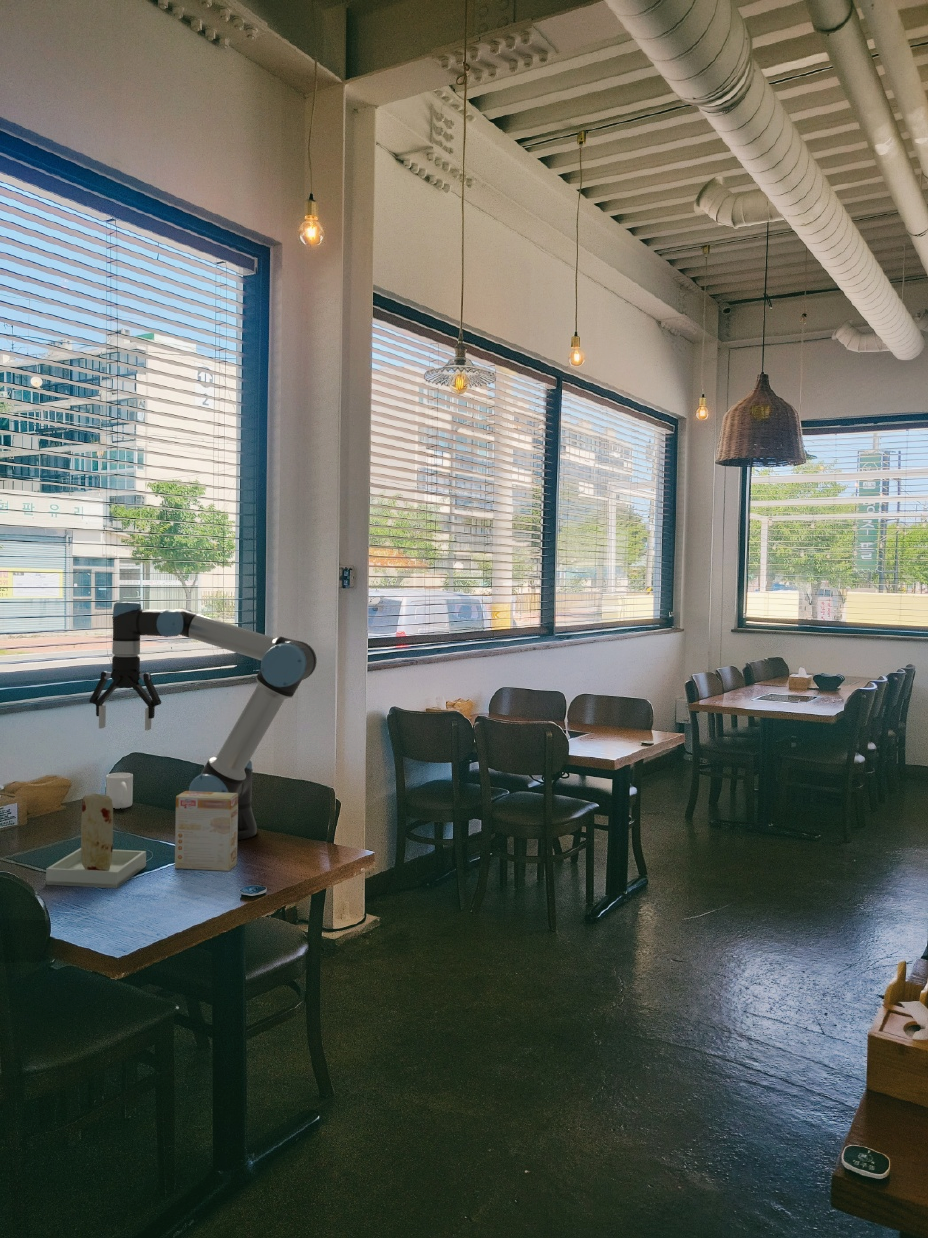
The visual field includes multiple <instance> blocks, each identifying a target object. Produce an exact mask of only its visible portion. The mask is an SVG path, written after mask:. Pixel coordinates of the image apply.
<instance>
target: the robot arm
mask: <svg viewBox="0 0 928 1238" xmlns="http://www.w3.org/2000/svg"><path fill="white" fill-rule="evenodd" d="M141 605H142V604H141V603H140V602H136V601H116V602H115V603H114V604H113V609H112V644H111V645H112V650H111V652H112V654H113V655H114V656H112V658H111V668H112V670H111V672H110V671H108V670H104V671H102V672H101V673H100V678H99V681H98V683H97V684H96V686H95V688H94V691H93V692H92V694H91V695H90V696H91V697H90V698H89V701H88V702H89V703H91V704H93V705H94V706H95V715H96V717H98V729H99V730H100V729H104V728H106V721H107V720H106V714H107V713H106V710H107V707H106V705H107V704H104V703H105V702H106V701H107V700H108V698H109V697H110V696H111V695H112V694H113V693H114V691H116V689H117V688H120V689H123V688H125V689H132V690H134V691H135V692H136V693H137V694H138V696H139V697H140V698H141V699H142V701H143V702H144V703H145V704H146V707H145V708H144V709H145V710H144V731H149V730H152V719H154V718H155V715H156V714H155V709H156V707H157V706H160V705H161V704H162V700H161V698H160V696H159V694H158V691H157V690H156V688H155V684H154V683H153V681H152V675H151V674H152V673H150V672H144V673H141V671H140V668H141V657H140V656H139V655H140V653H141V636H150V637H151V636H152V637H165V638H171V637H172V638H173V637H179V636H182V637H184V638H185V637H186V638H189V639H193V640H195V641H199V642H202V643H205V644H209V645H212V646H214V647H218V648H220V649H222V650H223V649H224V650H227V651H230V652H233V653H236V654H240V655H243V656H246V657H249V658H253V659H256V660H258V661H261V662H260V669H259V671H258V673H257V675H256V676H255V680H256V682H257V683H256V684H257V686H256V687H255V689H254V691H253V693H252V695H250V698H249V699H248V701H247V703H246V704H245V706H244V708H243V710H242V711H241V713H240V715H239V716H238V719H237V721H236V722H235V724H234V726H233V727H232V729H231V730H230V733H229V734H228V736H227V738H226V740H225V741H224V743H223V745H222V747H221V748H220V751H219V752H218V753H217V754H216V755H214V756H211V757H209V758H208V760H207V762H206V764H205V765H204V767H203V769H202V770H201V772H200V774H198V775H197V776H196V777H194V778H193V780H192V781H191V783H190V784H189V787H188V791H196V792H221V793H238V832H237V841H240V840H246V839H250V838H252V837H254V836H256V835H257V831H258V830H257V829H258V827H257V823H256V820H255V817H254V813H253V810H252V794H253V793H252V790H253V789H252V787H253V786H252V785H253V772H254V771H253V763H252V761H251V759H252V757H253V755H254V753H255V751H256V750H257V748H258V747H259V744H261V741H262V740H263V738H264V736H265V735H266V733H267V731H268V729H269V728H270V726H271V724H272V722H273V721H274V719H275V717H276V715H277V714H278V711H279V710H280V709H281V707H282V705H283V703H284V701H285V700H287V699H291V698H293V697H294V694H295V693H296V691H297V690H298V688H299V686H300V684H301V683H302V681H304V680H306V679H307V678H309V677H310V676H311V675H312V674H313V673H314V671H315V670H316V667H317V664H318V663H317V661H318V660H317V658H318V657H317V655H316V652H315V650H314V649H313V647H312V646H311V645H310V644H308V643H306V642H304V641H300V640H296V639H291V638H287V637H284V636H280V635H279V636H277V637H272V636H269V635H267V634H264V633H260V632H257V631H253V630H249V629H247V628H243V627H241V626H237V625H234V624H231V623H228V622H224V621H221V620H218V619H215V618H212V617H207V616H204V615H201V614H198V613H195V612H194V611H192V610H191V609H188V608H184V607H177V608H169V609H143V608H142V606H141ZM110 678H111V679H112V680H113V681H112V682H111V684H110V685H109V686H108V687H107V689H106V690H105V691H104V692H103V690H104V688H105V687H106V684H107V682H108V680H110ZM140 680H142V681H143V683H144V685H145V687H146V689H147V691H146V690H145V688H143V685H142V684H141V682H140ZM102 692H103V693H102ZM147 692H148V693H147ZM101 694H102V695H101Z"/></svg>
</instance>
